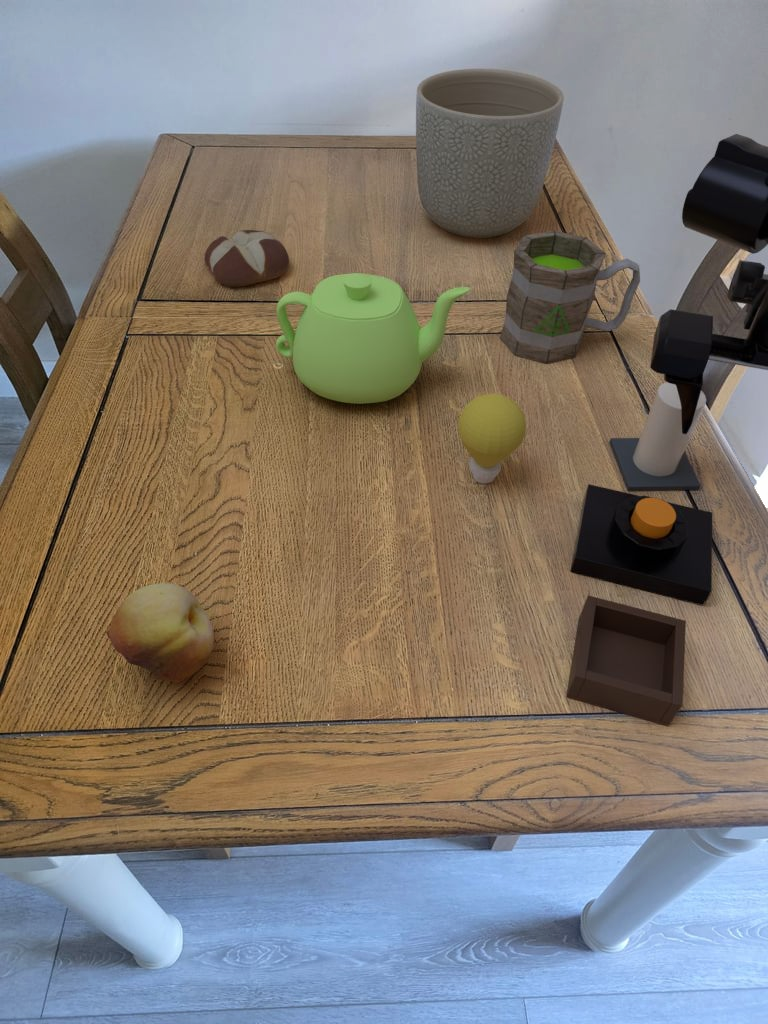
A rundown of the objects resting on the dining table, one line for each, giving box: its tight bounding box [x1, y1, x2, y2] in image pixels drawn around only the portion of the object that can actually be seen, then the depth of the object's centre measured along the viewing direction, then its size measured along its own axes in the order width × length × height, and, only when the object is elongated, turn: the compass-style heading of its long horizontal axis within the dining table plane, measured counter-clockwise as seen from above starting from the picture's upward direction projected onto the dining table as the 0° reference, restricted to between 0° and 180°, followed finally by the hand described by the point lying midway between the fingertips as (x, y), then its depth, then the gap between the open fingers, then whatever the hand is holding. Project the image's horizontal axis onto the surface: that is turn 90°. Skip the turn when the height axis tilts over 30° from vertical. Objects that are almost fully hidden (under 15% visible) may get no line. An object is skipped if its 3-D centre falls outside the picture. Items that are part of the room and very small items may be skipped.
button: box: [631, 497, 676, 539], centre depth 65 cm, size 4×4×2 cm
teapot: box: [275, 272, 470, 405], centre depth 81 cm, size 22×15×13 cm
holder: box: [565, 595, 687, 727], centre depth 58 cm, size 8×8×4 cm
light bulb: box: [457, 392, 527, 485], centre depth 71 cm, size 7×7×10 cm
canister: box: [633, 381, 707, 477], centre depth 72 cm, size 5×5×9 cm
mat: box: [608, 437, 702, 492], centre depth 76 cm, size 8×8×1 cm
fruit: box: [106, 582, 215, 683], centre depth 56 cm, size 8×8×8 cm
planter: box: [415, 68, 565, 239], centre depth 107 cm, size 21×21×19 cm
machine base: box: [570, 483, 713, 606], centre depth 67 cm, size 12×10×4 cm
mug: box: [499, 230, 641, 365], centre depth 88 cm, size 16×11×12 cm
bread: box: [204, 229, 290, 288], centre depth 101 cm, size 11×11×5 cm
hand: (738, 441), depth 62 cm, fingers open, 9 cm apart
